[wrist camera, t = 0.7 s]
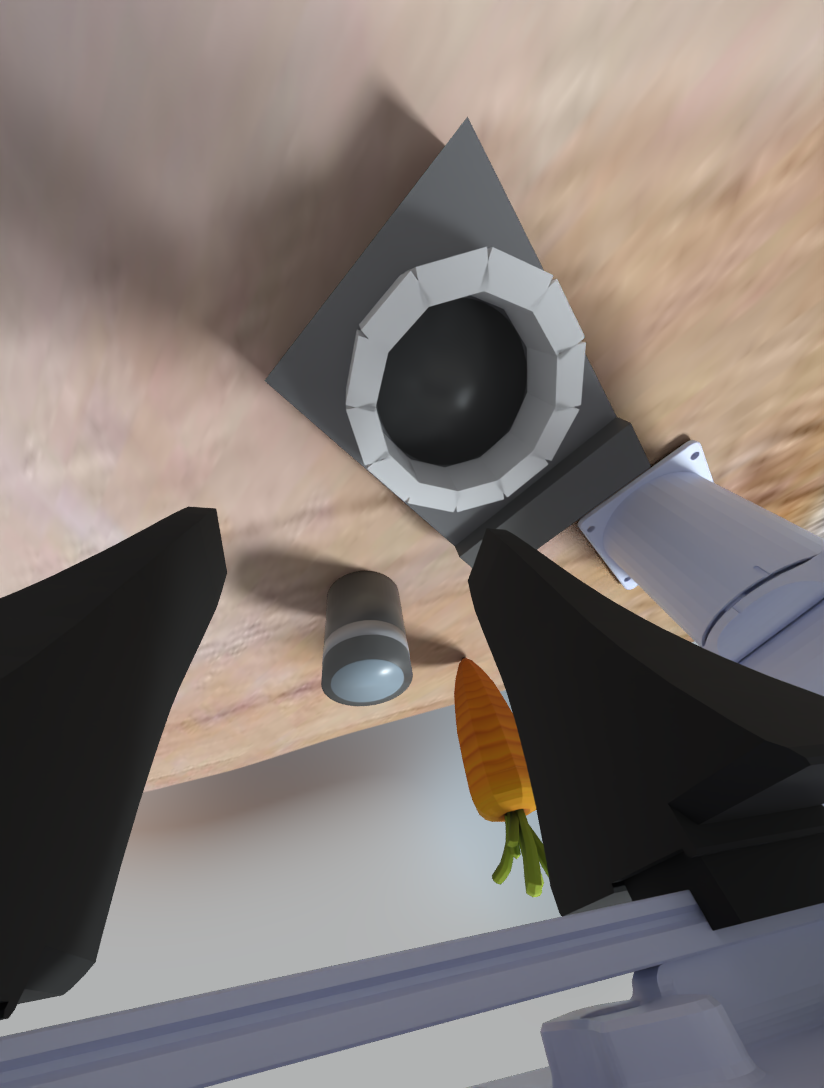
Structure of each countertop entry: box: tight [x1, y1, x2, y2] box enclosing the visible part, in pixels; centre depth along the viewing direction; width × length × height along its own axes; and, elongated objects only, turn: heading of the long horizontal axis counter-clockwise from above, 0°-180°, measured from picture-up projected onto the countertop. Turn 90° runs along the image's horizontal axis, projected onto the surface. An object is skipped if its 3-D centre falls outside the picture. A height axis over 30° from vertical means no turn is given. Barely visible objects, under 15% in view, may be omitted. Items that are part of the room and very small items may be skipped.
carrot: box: [454, 658, 549, 897], centre depth 24 cm, size 5×5×15 cm
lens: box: [321, 571, 413, 706], centre depth 21 cm, size 5×5×6 cm
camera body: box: [265, 117, 651, 568], centre depth 15 cm, size 15×10×5 cm, turn 43°
